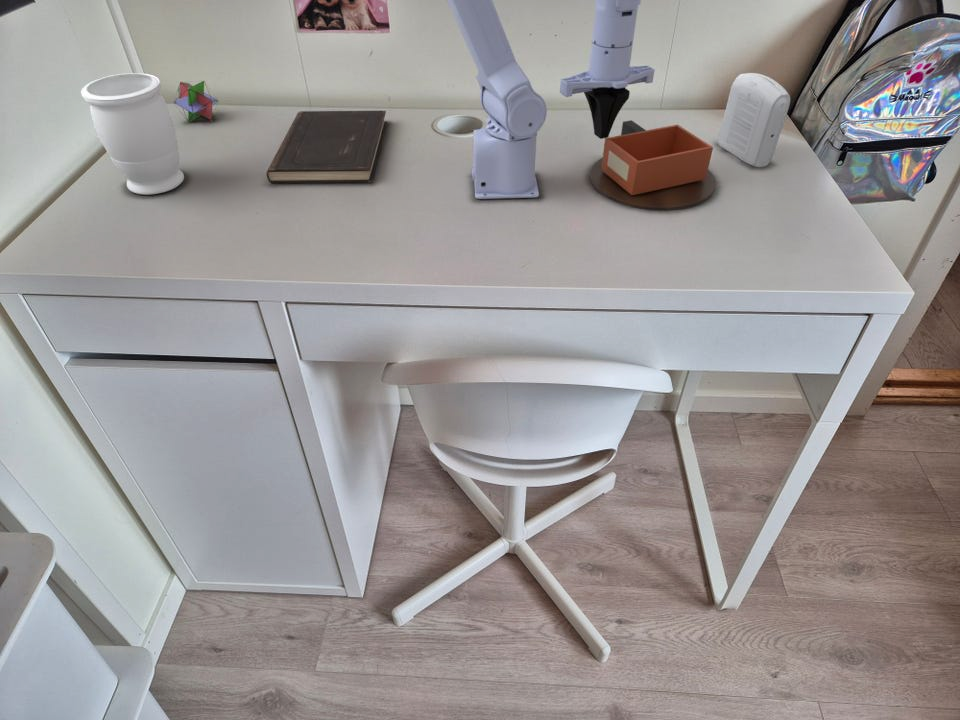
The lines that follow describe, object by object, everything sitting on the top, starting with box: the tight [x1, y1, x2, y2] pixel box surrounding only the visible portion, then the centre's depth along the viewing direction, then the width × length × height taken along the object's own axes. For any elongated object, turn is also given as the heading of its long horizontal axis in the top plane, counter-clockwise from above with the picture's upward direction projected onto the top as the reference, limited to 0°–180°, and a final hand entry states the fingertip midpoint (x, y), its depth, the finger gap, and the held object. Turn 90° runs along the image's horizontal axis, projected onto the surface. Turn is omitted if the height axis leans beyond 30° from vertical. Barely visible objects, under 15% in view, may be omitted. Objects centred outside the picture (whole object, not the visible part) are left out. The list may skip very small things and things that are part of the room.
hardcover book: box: [266, 110, 388, 185], centre depth 109 cm, size 16×23×2 cm
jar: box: [80, 72, 185, 196], centre depth 97 cm, size 11×10×15 cm
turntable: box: [589, 157, 717, 212], centre depth 101 cm, size 19×19×1 cm
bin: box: [601, 119, 714, 195], centre depth 100 cm, size 13×13×5 cm
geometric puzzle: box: [172, 80, 219, 123], centre depth 118 cm, size 7×7×8 cm
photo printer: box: [717, 72, 791, 168], centre depth 103 cm, size 10×4×12 cm, turn 23°
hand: (601, 135), depth 101 cm, fingers closed
